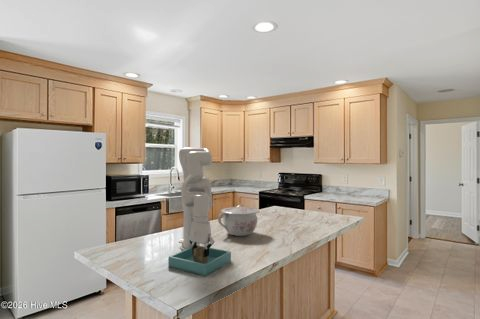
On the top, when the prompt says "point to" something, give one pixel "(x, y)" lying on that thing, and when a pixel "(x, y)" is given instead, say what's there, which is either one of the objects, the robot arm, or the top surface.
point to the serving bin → (187, 264)
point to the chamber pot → (239, 220)
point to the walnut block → (200, 255)
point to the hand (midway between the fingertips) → (200, 254)
